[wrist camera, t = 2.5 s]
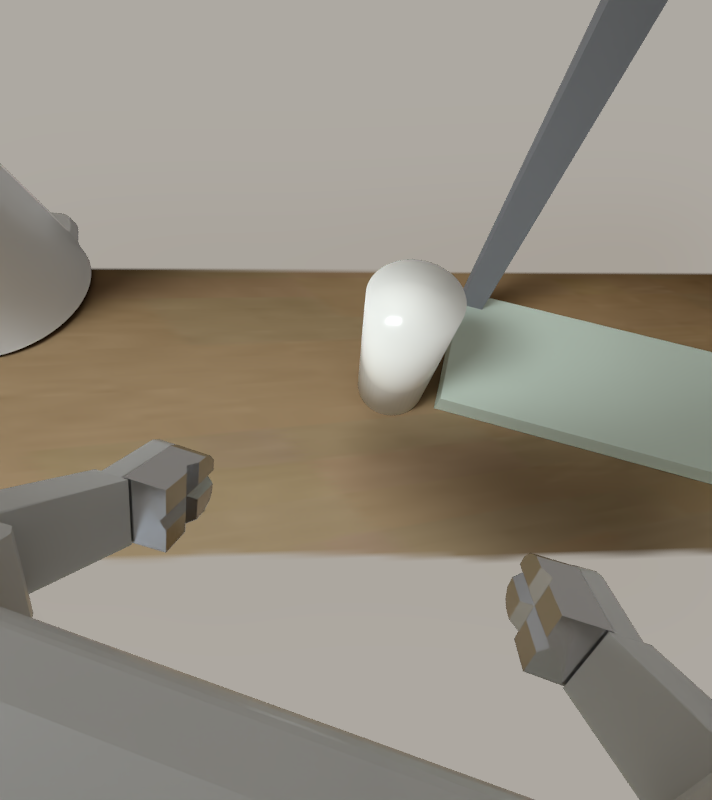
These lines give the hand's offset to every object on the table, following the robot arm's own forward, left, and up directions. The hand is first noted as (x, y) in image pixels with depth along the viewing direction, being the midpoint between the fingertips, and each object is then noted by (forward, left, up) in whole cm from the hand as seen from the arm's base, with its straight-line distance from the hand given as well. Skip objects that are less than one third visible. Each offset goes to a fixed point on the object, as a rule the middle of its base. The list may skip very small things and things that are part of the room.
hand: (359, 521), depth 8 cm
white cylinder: (0, +12, -16) cm, 20 cm away
